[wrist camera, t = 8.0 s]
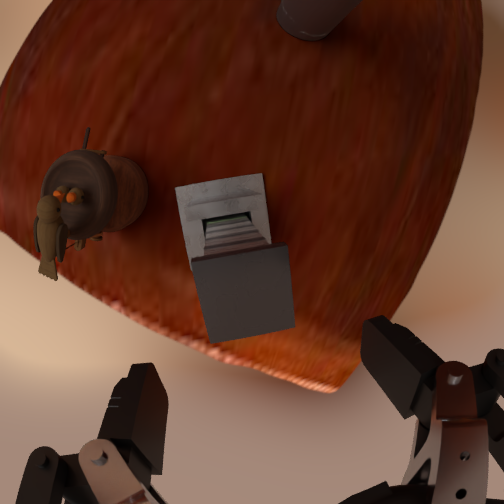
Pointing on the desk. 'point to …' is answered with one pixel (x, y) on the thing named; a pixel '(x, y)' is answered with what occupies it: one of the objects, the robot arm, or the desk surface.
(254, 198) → the stand
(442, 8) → the desk surface
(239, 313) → the column
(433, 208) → the desk surface
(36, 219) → the brown piece
